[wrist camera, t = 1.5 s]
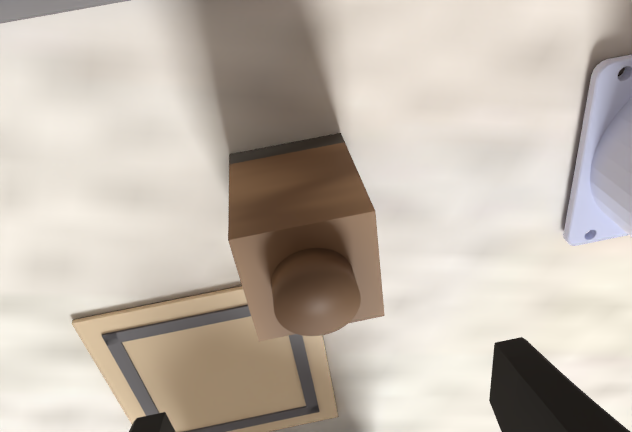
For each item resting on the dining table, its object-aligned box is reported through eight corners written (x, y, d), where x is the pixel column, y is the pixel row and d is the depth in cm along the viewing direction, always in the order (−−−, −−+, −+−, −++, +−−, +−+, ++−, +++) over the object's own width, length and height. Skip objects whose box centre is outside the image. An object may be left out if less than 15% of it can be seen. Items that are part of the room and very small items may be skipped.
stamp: (340, 132, 18) (384, 232, 12) (351, 223, 20) (392, 339, 15) (229, 153, 17) (228, 263, 12) (253, 243, 20) (260, 367, 15)
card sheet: (310, 272, 21) (311, 277, 21) (337, 413, 26) (338, 418, 26) (72, 320, 20) (71, 325, 20) (151, 453, 26) (150, 458, 26)
